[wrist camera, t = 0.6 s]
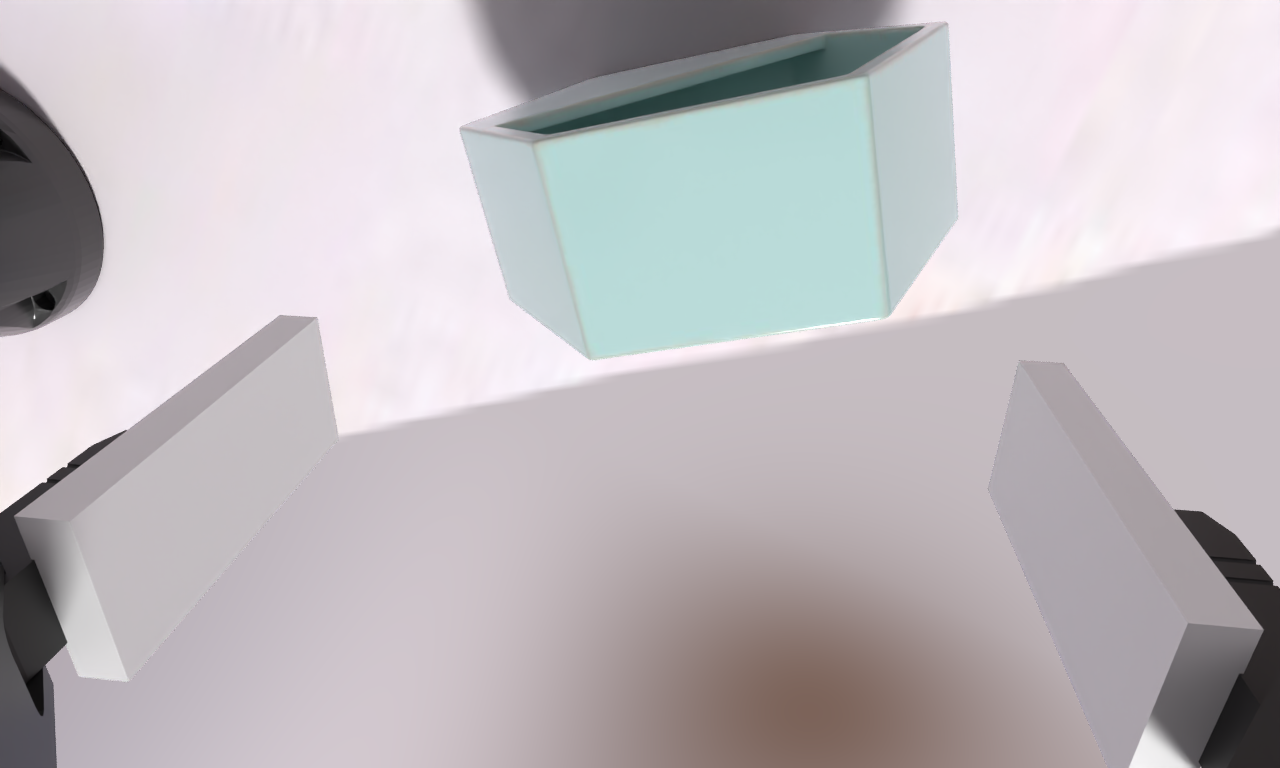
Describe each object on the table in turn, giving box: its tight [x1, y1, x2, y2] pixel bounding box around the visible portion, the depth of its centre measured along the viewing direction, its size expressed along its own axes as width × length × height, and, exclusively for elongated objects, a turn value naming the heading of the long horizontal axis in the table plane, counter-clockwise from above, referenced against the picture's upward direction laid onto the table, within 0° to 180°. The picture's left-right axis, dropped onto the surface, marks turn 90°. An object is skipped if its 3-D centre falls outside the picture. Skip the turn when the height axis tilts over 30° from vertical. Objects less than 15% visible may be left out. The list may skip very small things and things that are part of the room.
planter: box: [460, 22, 958, 360], centre depth 34 cm, size 17×8×21 cm
